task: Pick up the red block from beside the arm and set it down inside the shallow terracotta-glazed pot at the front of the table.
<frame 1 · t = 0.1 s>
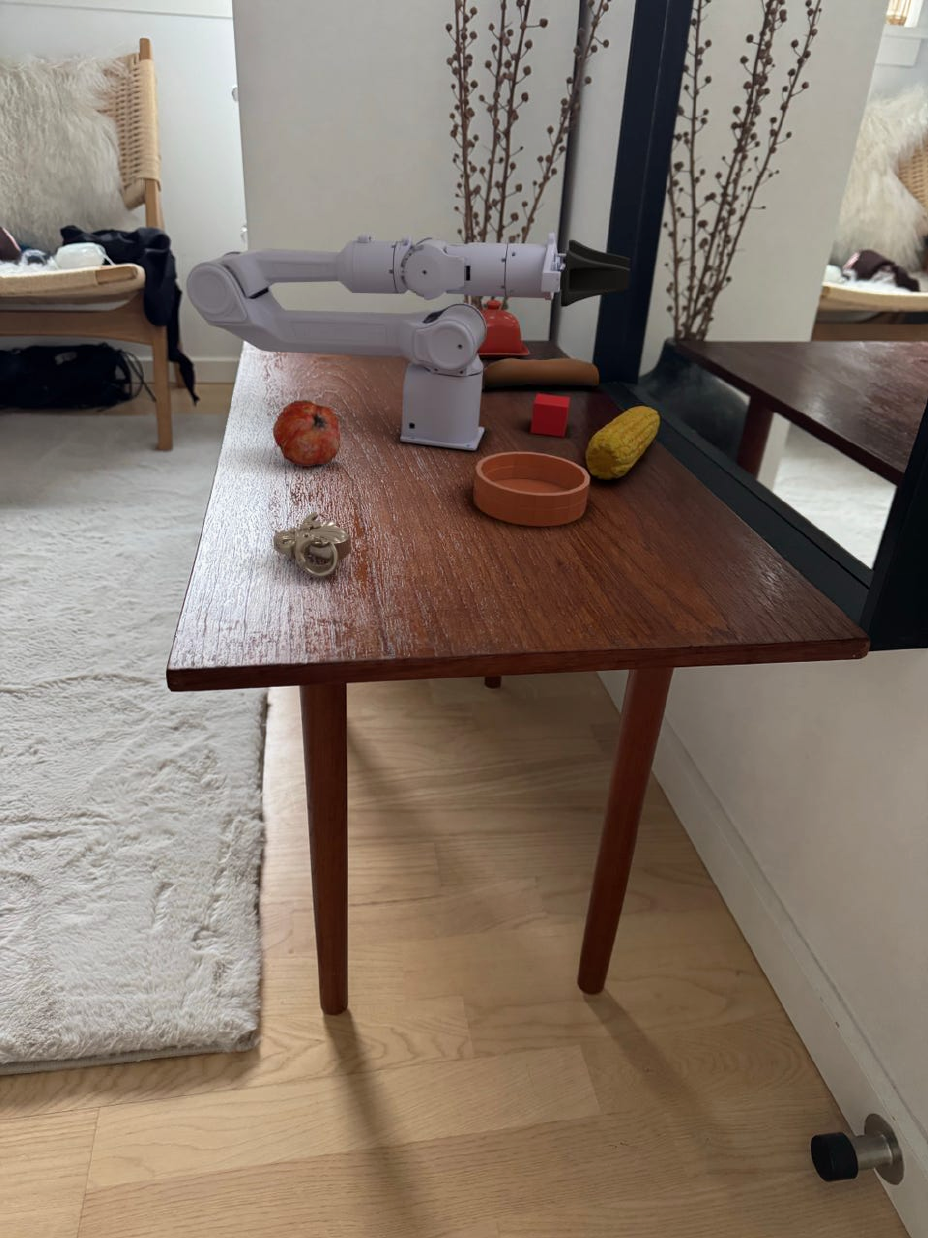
hand: (629, 273, 99), 22 cm above the table, tool horizontal, fingers open, 7 cm apart
red block: (548, 429, 118), on the table
food: (621, 461, 110), on the table
butter dish: (489, 353, 150), on the table
brown rounded bar: (533, 386, 135), on the table
ornament: (312, 562, 81), on the table
pot: (529, 502, 96), on the table
pomegranate: (307, 463, 102), on the table
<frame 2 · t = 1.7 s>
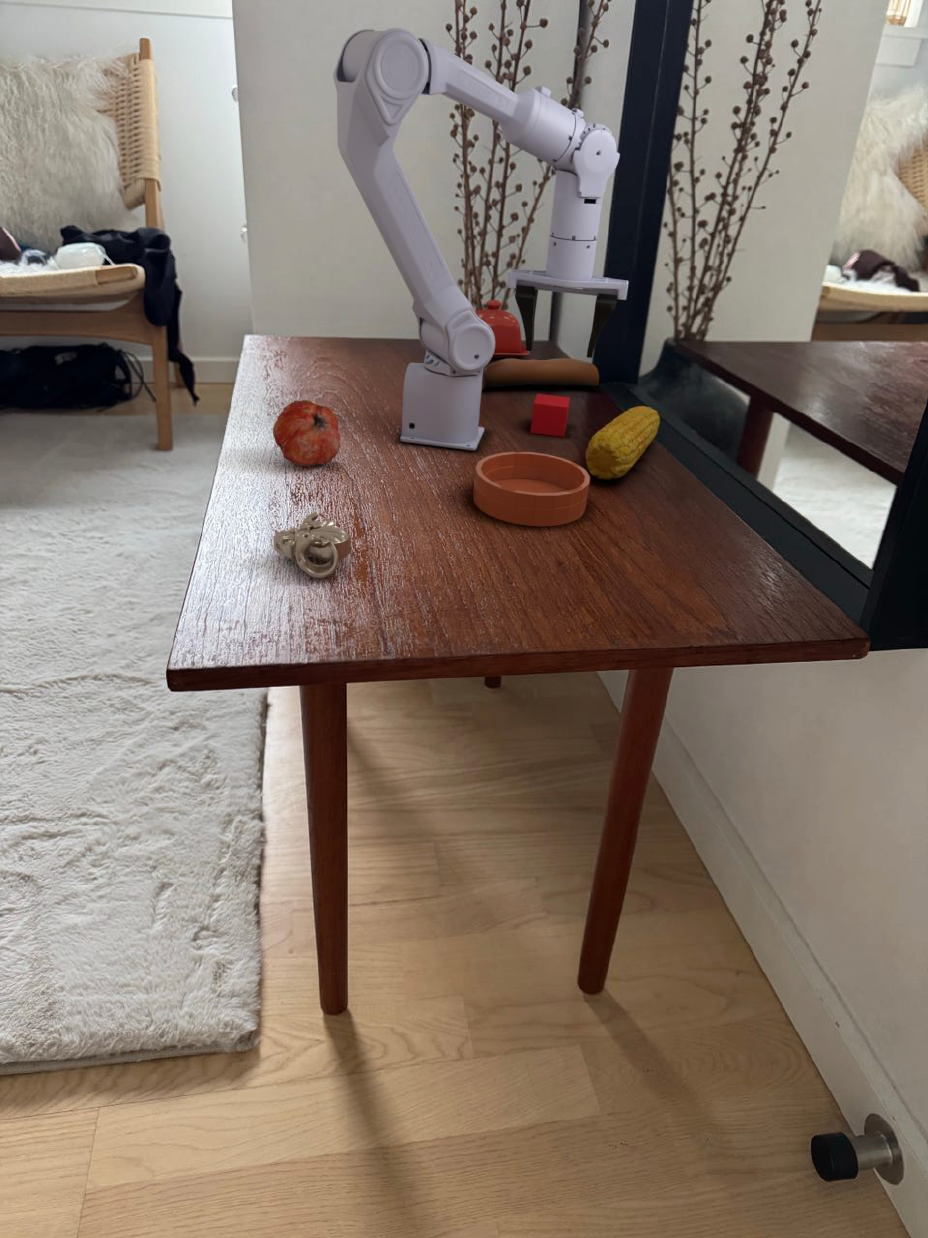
hand: (559, 352, 113), 10 cm above the table, tool pointing down, fingers open, 7 cm apart
nothing on the table moved.
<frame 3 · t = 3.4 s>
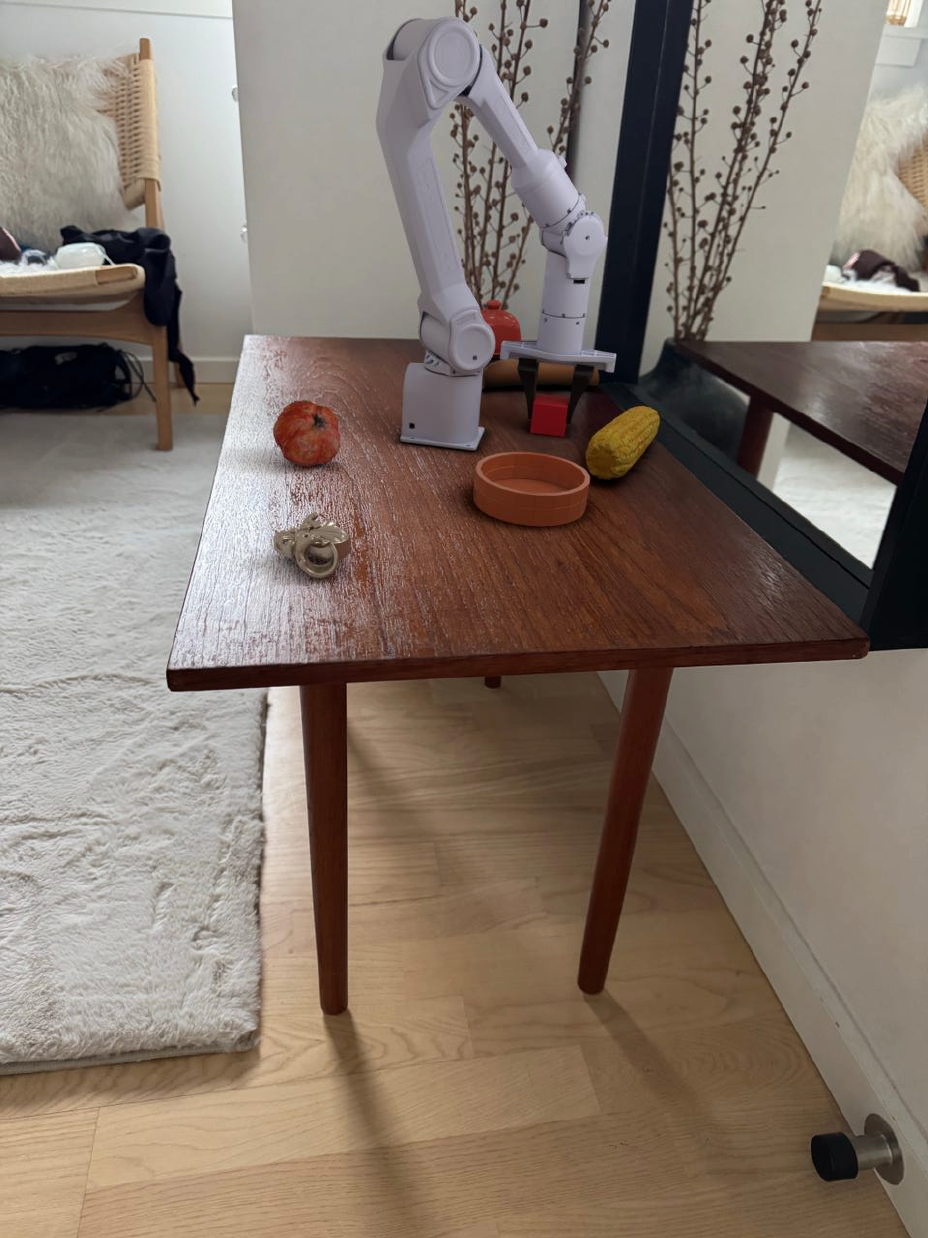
hand: (549, 419, 117), 1 cm above the table, tool pointing down, fingers closed on red block, 4 cm apart
red block: (548, 429, 118), on the table, touching gripper
everything else where it was.
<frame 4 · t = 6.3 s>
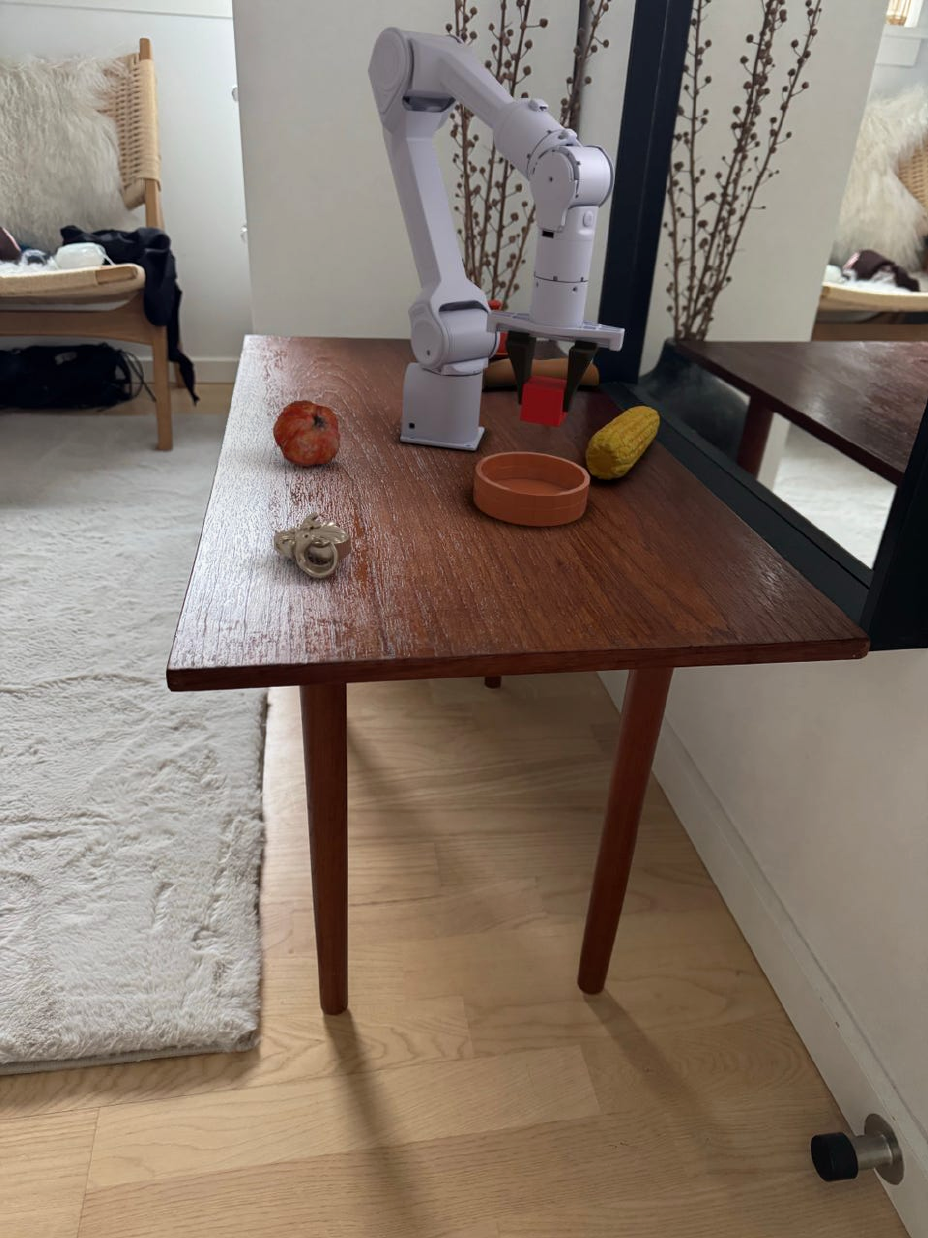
hand: (545, 406, 98), 8 cm above the table, tool pointing down, fingers closed on red block, 4 cm apart
red block: (543, 418, 99), point 7 cm above the table, touching gripper
everything else where it was.
when the fingers open (2 cm above the table, at t = 9.1 s): red block stays where it is, resting on pot.
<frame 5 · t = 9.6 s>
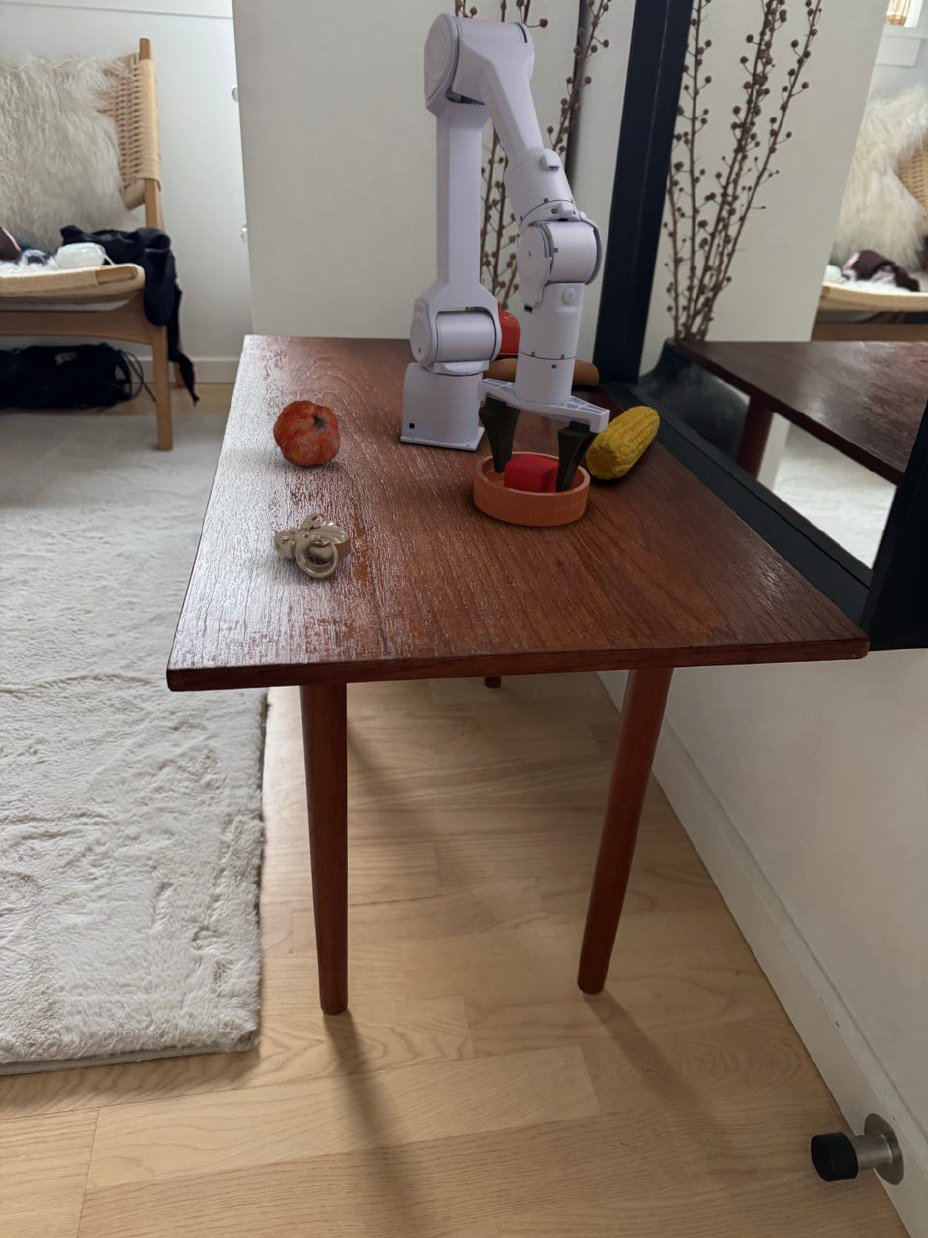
hand: (531, 480, 95), 3 cm above the table, tool pointing down, fingers open, 7 cm apart
red block: (529, 498, 96), resting on pot
everything else where it was.
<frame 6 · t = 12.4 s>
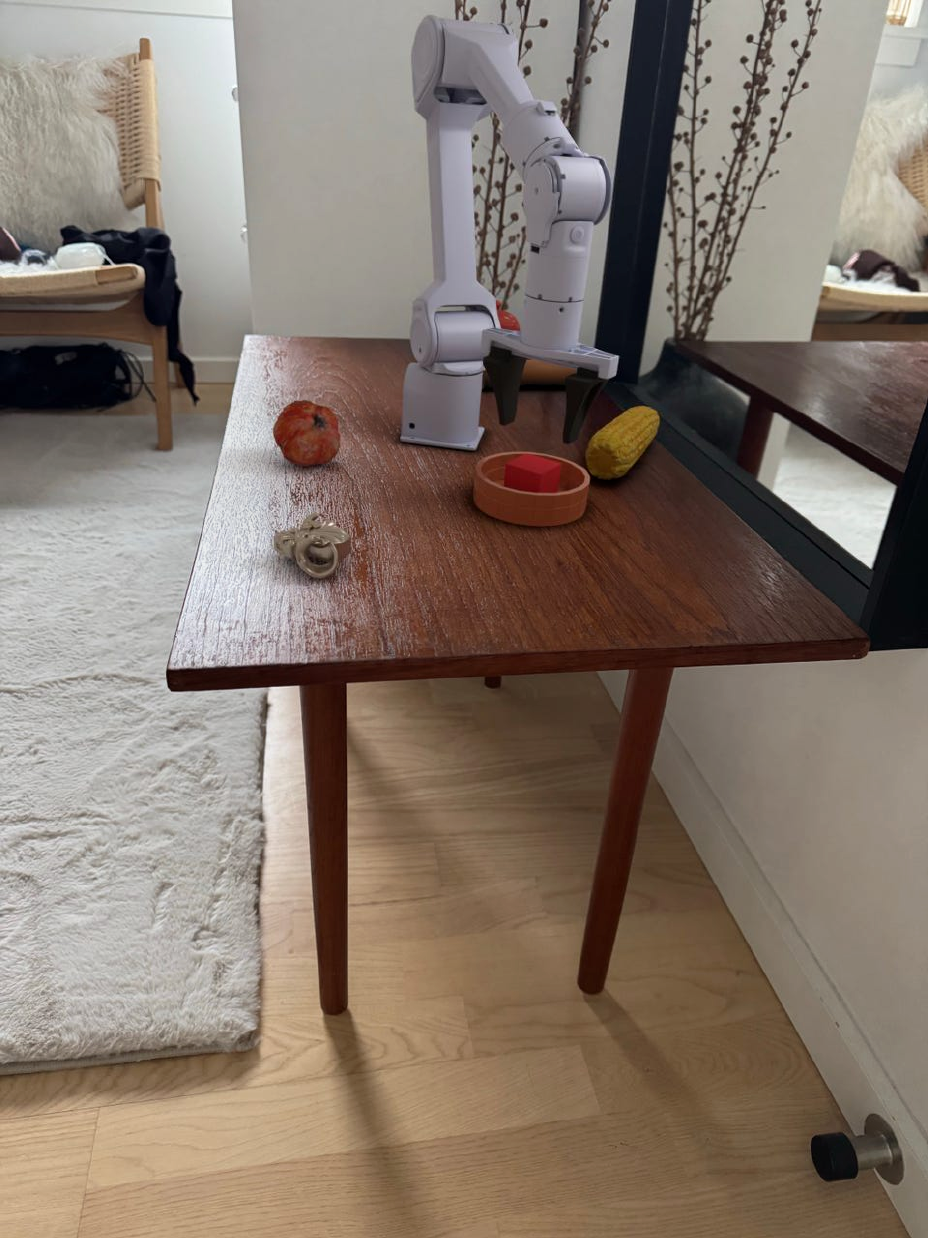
hand: (537, 431, 92), 8 cm above the table, tool pointing down, fingers open, 7 cm apart
nothing on the table moved.
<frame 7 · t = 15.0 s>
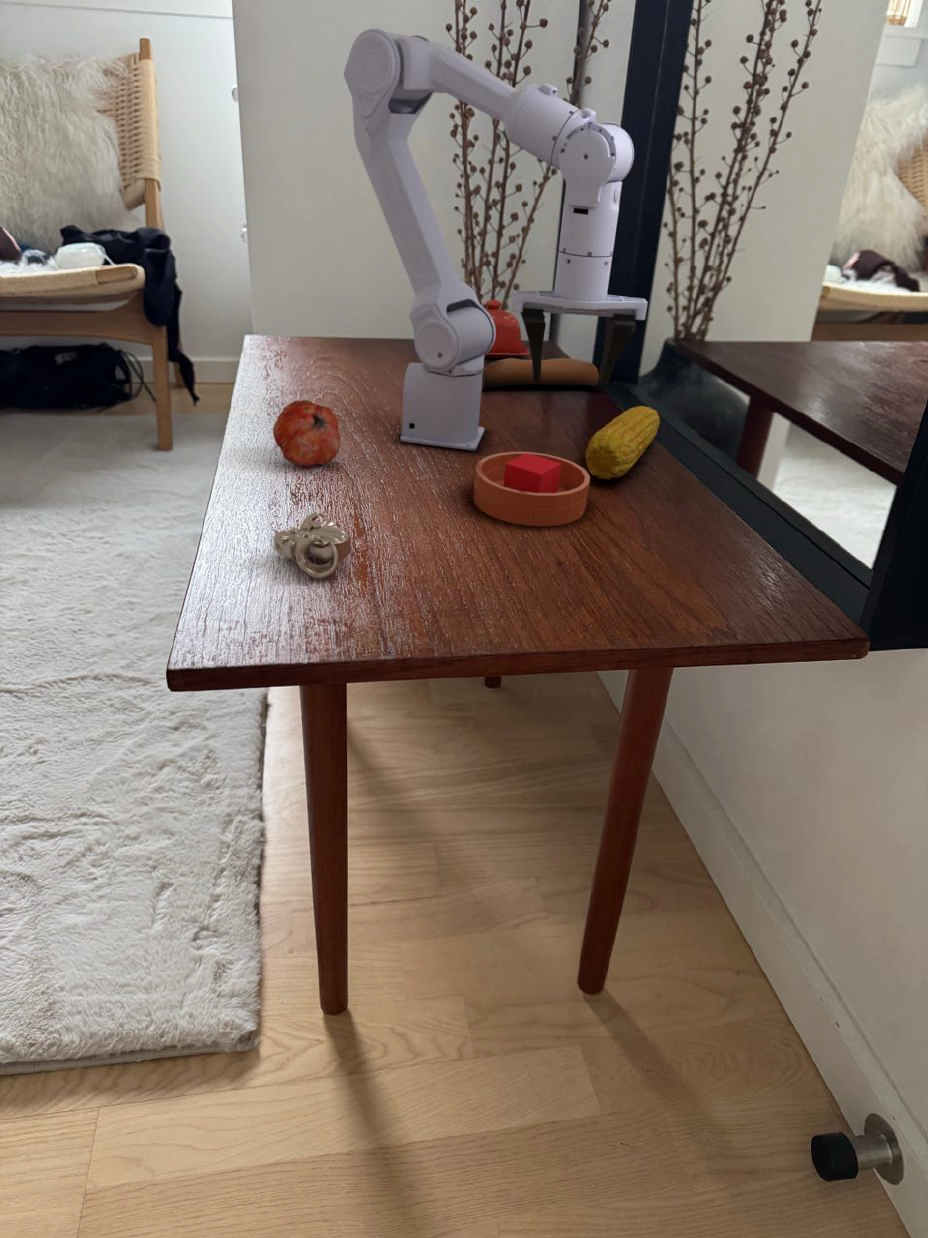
hand: (569, 380, 101), 10 cm above the table, tool pointing down, fingers open, 7 cm apart
nothing on the table moved.
at the end: red block inside the target area in the pot (0.0 cm from its centre), point 0.5 cm above the pot's base; red block tilted 0° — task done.
